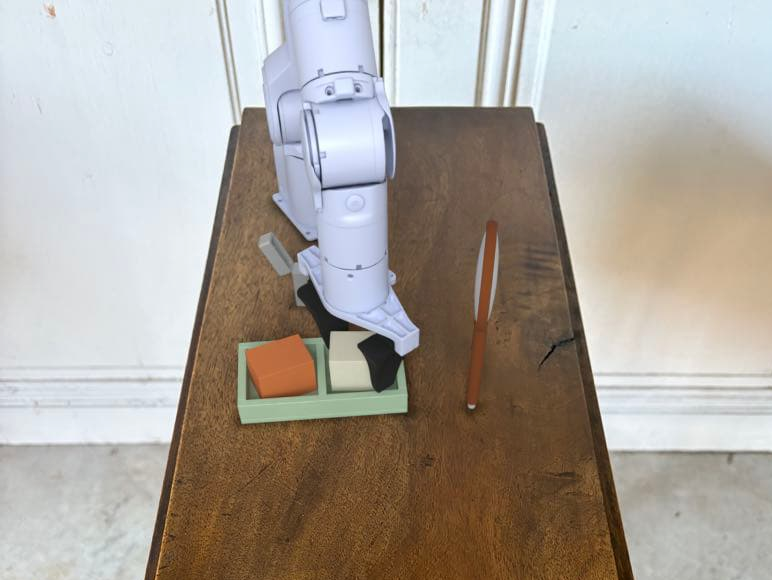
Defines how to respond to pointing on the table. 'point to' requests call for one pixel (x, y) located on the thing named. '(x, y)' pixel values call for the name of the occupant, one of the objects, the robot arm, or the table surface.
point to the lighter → (282, 261)
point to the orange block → (281, 368)
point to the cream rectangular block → (348, 361)
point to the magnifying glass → (482, 307)
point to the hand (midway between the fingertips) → (360, 365)
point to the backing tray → (315, 393)
